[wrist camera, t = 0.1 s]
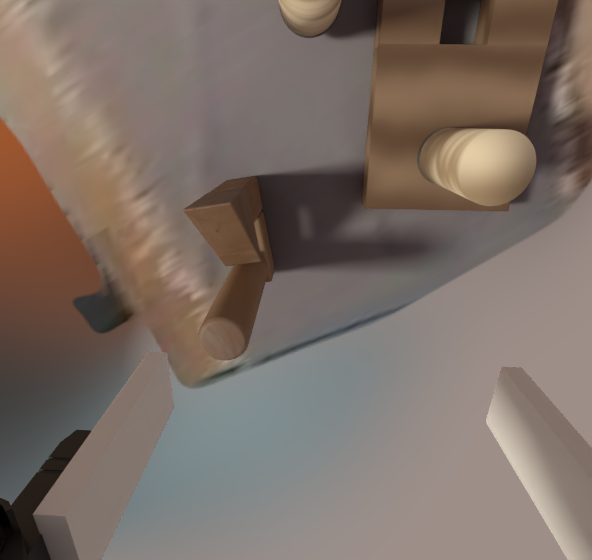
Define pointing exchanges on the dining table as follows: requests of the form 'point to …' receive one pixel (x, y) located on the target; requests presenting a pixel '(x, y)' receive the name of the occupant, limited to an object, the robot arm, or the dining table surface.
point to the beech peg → (309, 16)
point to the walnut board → (453, 106)
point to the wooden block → (234, 262)
